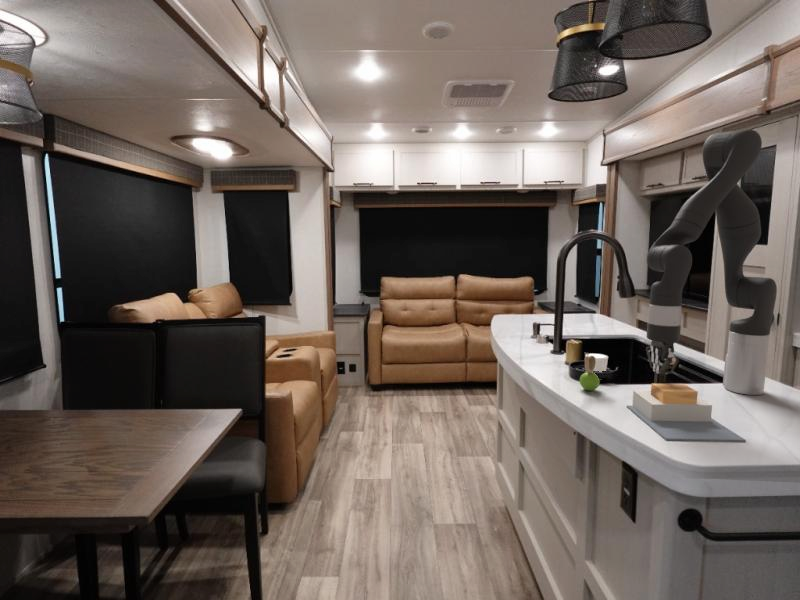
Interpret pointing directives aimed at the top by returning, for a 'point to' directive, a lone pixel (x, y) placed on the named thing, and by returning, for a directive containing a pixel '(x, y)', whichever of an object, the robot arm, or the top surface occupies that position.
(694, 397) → the orange flat block
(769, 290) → the robot arm
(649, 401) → the white rectangular block
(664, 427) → the mat
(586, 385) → the green maraca
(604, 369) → the white chunky block
